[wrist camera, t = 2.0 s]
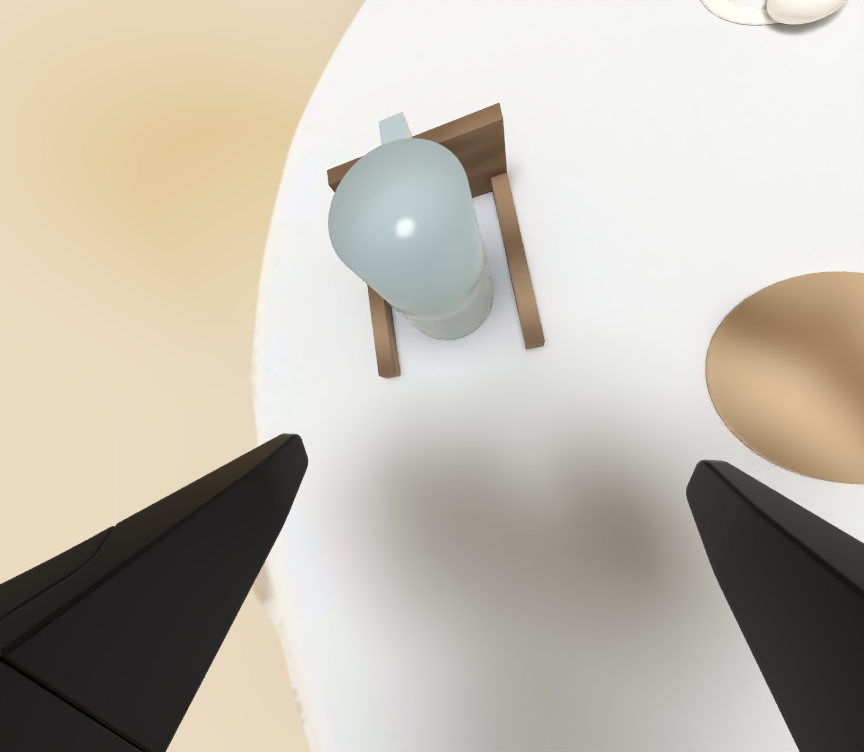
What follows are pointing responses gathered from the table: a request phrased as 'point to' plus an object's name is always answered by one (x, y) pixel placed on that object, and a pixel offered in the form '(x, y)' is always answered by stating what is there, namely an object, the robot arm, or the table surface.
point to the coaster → (796, 374)
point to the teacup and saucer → (774, 11)
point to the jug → (414, 232)
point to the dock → (486, 171)
